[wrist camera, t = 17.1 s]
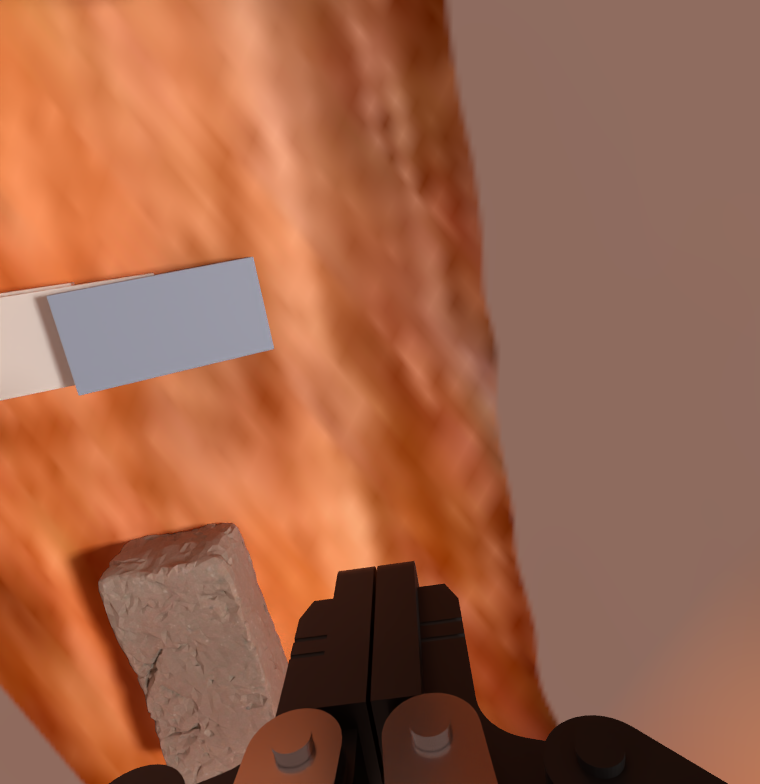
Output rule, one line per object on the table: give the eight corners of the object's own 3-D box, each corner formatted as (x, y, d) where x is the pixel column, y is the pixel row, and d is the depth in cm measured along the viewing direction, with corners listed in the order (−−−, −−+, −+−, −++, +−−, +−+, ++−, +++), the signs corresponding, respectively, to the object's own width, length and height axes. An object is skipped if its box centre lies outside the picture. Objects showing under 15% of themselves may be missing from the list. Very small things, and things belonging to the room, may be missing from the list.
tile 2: (175, 364, 33) (-30, 406, 30) (173, 358, 35) (-20, 398, 32) (153, 273, 32) (-64, 307, 29) (152, 272, 34) (-52, 305, 31)
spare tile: (274, 348, 33) (78, 395, 30) (267, 344, 35) (82, 388, 32) (252, 256, 32) (46, 296, 29) (247, 257, 34) (52, 294, 30)
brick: (118, 541, 39) (81, 584, 34) (240, 514, 38) (219, 554, 34) (201, 741, 43) (178, 802, 39) (312, 720, 43) (302, 780, 38)
